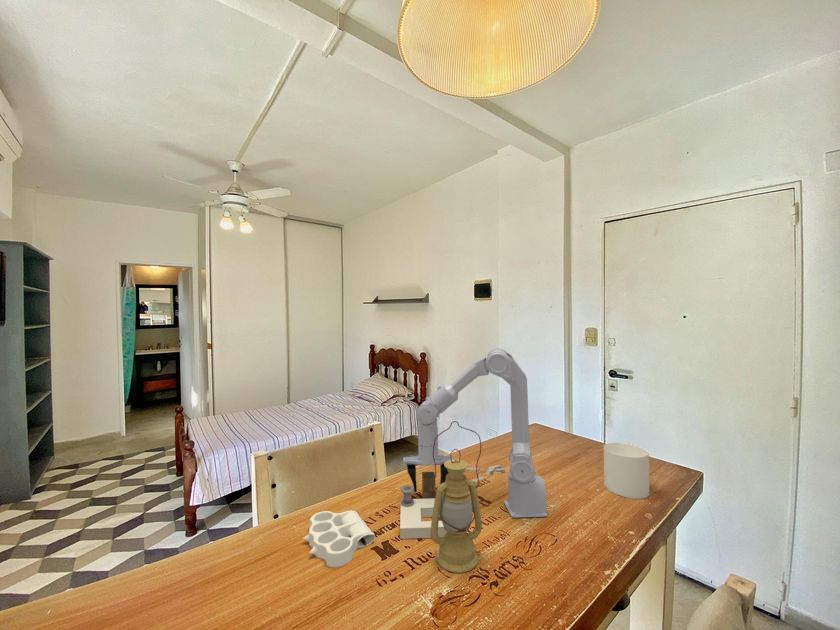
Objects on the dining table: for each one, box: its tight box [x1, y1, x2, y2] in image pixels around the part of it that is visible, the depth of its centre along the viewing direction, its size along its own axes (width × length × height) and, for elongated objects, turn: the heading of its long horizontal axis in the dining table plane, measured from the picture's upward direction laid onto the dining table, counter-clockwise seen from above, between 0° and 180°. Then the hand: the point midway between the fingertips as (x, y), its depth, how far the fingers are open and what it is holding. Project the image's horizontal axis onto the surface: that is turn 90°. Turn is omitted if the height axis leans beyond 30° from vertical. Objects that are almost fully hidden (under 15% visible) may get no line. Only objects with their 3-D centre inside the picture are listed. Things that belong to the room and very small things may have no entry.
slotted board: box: [399, 484, 447, 540], centre depth 89 cm, size 12×13×6 cm
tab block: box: [421, 471, 437, 499], centre depth 100 cm, size 4×4×7 cm
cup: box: [603, 442, 650, 500], centre depth 104 cm, size 12×12×12 cm
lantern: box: [430, 420, 483, 574], centre depth 76 cm, size 12×10×30 cm
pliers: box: [465, 464, 506, 483], centre depth 116 cm, size 10×2×15 cm
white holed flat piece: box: [302, 510, 376, 568], centre depth 82 cm, size 3×18×15 cm
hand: (428, 489), depth 100 cm, fingers open, 7 cm apart
